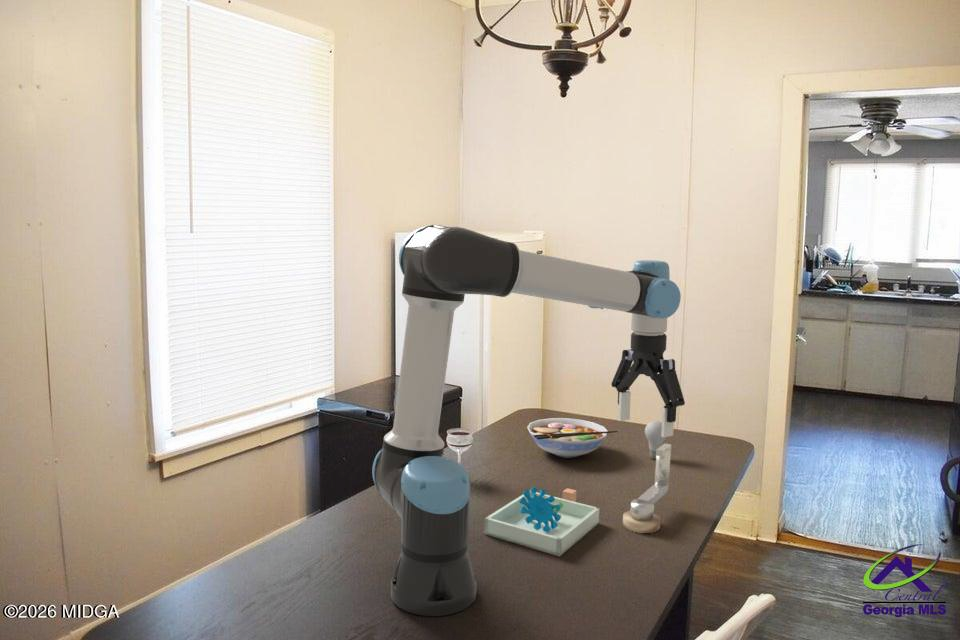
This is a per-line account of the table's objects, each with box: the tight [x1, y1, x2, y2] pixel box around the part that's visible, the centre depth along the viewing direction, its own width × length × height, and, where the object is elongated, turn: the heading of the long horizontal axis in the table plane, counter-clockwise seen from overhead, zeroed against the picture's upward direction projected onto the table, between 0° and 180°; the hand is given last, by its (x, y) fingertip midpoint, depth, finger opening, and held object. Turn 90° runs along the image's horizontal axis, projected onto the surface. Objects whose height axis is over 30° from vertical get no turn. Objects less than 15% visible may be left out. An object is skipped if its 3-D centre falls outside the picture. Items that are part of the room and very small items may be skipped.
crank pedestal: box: [622, 510, 661, 534], centre depth 161 cm, size 8×8×2 cm
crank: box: [629, 442, 672, 521], centre depth 166 cm, size 18×5×12 cm, turn 148°
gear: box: [519, 486, 563, 532], centre depth 160 cm, size 11×6×10 cm
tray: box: [483, 489, 600, 557], centre depth 159 cm, size 20×18×4 cm
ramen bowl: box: [527, 417, 618, 459], centre depth 209 cm, size 25×23×8 cm
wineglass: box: [446, 427, 474, 464], centre depth 187 cm, size 7×7×12 cm
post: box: [561, 487, 577, 502], centre depth 171 cm, size 2×2×4 cm
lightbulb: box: [644, 420, 667, 460], centre depth 206 cm, size 6×6×11 cm
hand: (644, 427), depth 162 cm, fingers open, 13 cm apart
